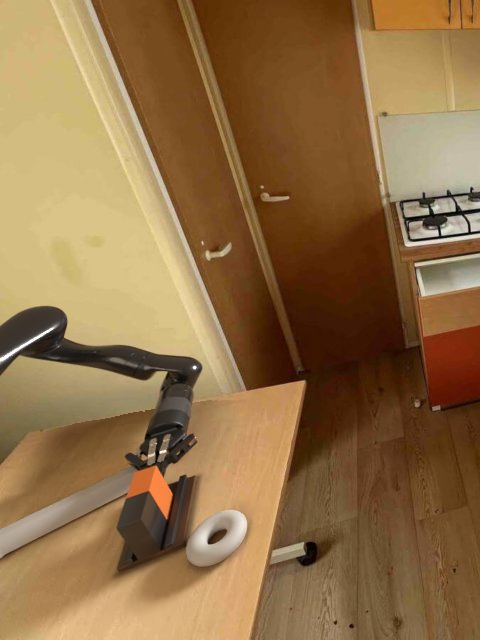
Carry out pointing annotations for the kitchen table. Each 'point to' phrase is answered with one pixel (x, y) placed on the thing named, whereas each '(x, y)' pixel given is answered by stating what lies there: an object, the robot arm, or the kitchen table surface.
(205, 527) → the donut
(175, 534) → the dark brown slotted holder
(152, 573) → the kitchen table surface
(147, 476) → the orange rectangular block
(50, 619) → the kitchen table surface
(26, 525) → the tube
